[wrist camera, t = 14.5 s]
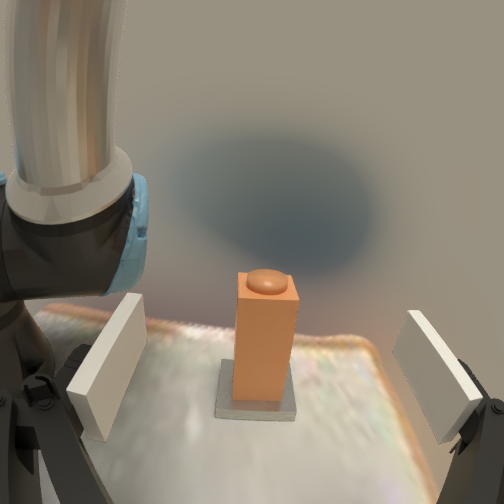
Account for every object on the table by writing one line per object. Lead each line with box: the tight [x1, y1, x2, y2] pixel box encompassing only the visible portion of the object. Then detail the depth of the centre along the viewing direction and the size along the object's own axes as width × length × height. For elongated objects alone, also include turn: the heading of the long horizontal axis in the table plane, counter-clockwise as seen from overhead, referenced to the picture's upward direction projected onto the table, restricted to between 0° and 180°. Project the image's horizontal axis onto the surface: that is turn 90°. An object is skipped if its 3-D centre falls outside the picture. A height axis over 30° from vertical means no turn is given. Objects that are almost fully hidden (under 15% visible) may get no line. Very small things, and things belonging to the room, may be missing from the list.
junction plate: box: [215, 359, 297, 421], centre depth 31 cm, size 8×8×7 cm
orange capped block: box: [233, 269, 299, 401], centre depth 30 cm, size 5×5×13 cm
